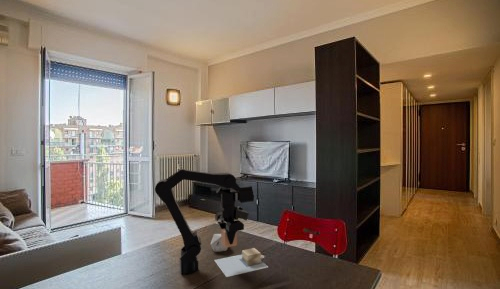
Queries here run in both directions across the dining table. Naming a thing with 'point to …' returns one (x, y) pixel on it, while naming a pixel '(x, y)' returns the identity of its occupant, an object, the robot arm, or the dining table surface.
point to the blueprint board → (237, 265)
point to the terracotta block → (225, 240)
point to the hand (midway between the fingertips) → (228, 241)
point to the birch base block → (251, 256)
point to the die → (217, 243)
